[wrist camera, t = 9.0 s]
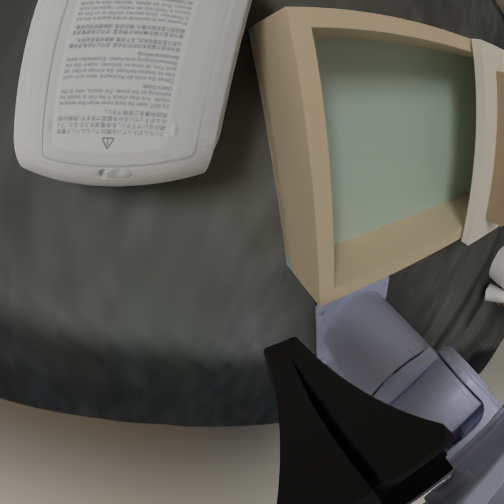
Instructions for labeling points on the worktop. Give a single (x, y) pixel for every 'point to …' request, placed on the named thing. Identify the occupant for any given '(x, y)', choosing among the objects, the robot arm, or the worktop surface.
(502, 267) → the fire extinguisher
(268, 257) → the worktop surface
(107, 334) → the worktop surface
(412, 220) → the box
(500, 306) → the white wood-trimmed shelf
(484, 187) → the sliding box lid
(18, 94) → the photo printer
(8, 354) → the worktop surface
